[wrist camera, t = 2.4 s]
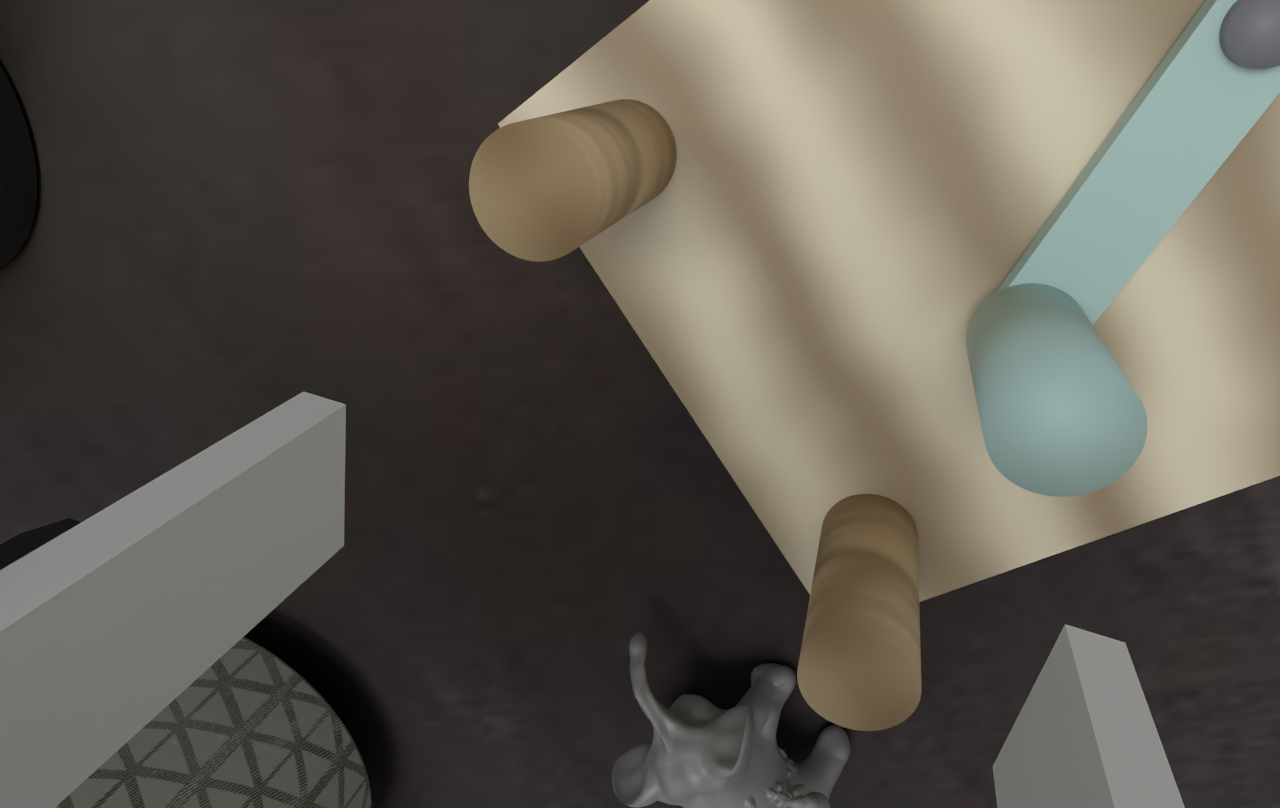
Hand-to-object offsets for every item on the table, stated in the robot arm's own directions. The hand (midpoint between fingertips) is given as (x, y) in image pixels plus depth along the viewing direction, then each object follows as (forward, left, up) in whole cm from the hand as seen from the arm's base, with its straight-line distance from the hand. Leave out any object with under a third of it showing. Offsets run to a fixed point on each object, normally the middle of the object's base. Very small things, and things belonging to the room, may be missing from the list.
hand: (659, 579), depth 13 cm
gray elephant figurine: (-15, -17, -22) cm, 31 cm away
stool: (+5, -2, -22) cm, 23 cm away
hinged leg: (+9, -3, -19) cm, 21 cm away
